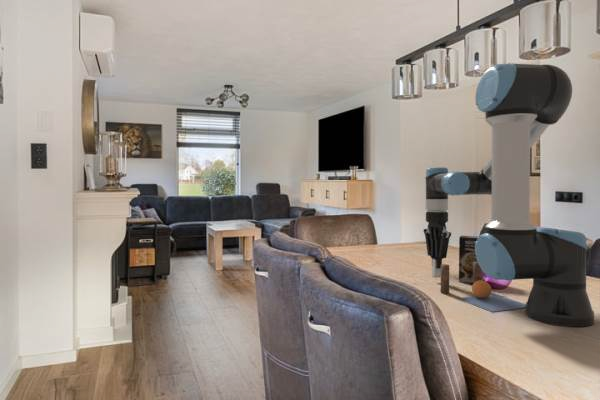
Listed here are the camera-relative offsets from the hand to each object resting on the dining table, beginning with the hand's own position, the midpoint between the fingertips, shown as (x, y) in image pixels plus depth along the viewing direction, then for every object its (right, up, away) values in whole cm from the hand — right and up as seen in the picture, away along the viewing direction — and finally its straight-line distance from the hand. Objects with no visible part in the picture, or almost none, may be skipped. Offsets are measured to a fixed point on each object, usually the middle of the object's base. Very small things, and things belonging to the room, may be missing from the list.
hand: (436, 276), depth 145 cm
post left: (-2, -2, -14) cm, 15 cm away
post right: (+10, -2, -10) cm, 15 cm away
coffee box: (+13, -2, +1) cm, 14 cm away
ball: (+7, 0, -21) cm, 22 cm away
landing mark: (+8, -3, -26) cm, 27 cm away
